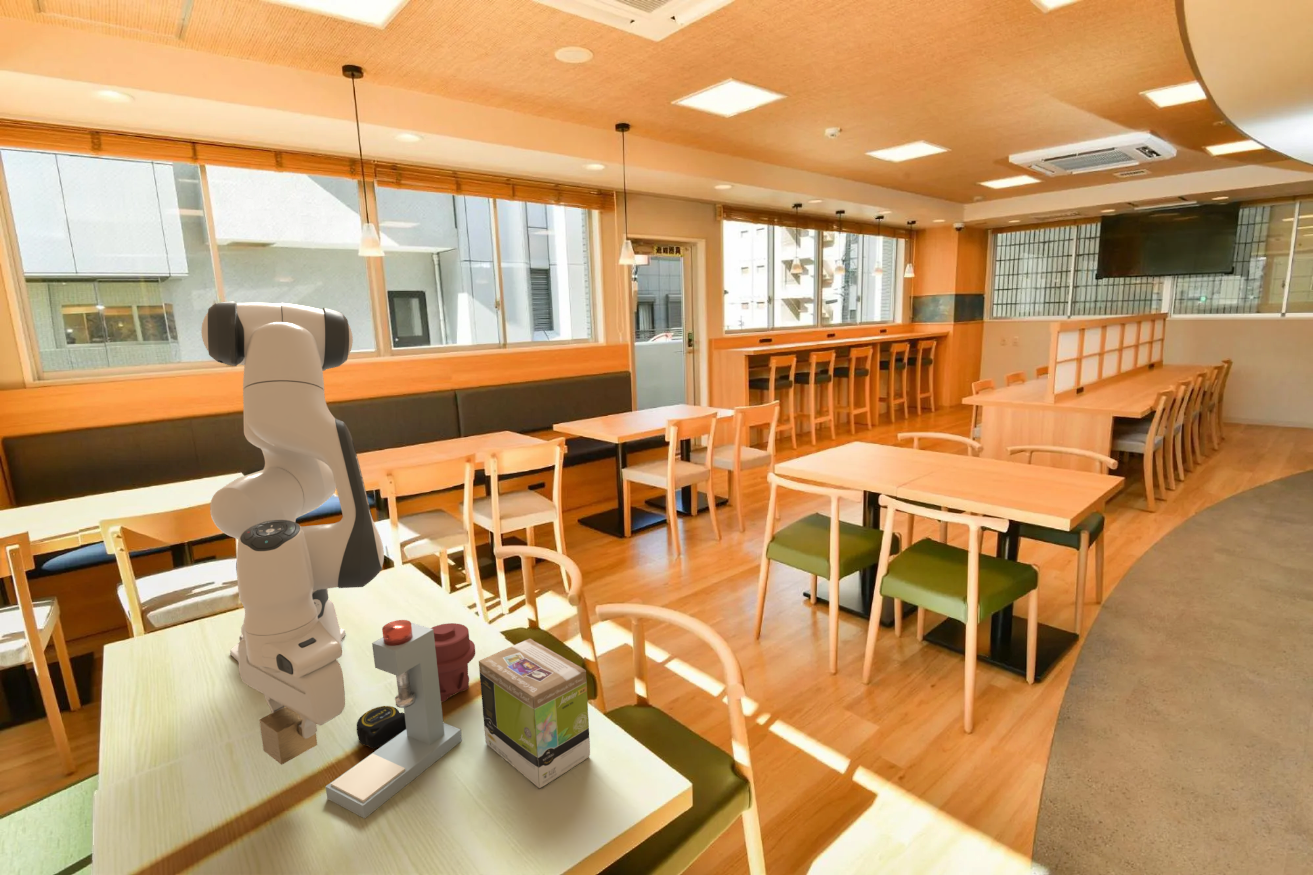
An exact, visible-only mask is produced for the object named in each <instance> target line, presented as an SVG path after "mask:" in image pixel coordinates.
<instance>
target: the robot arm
mask: <svg viewBox="0 0 1313 875" xmlns="http://www.w3.org/2000/svg"><path fill="white" fill-rule="evenodd" d="M200 331H201V332H200V333H201V338H202V342H203V344H204V347H205V349H206V351H207V352H208V355H209V356H210V357H211V358H212V359H213V360H214V361H216V362H218V363H221V364H223V365H228V366H232V367H237V366H238V365H239V366H244V368H243V379H242V380H243V381H242V397H243V398H242V399H243V400H242V401H243V402H242V403H243V408H242V409H243V434H244V436H245V439H246V440H247V442H248V443H250V444H252V445H253V446H255V447H256V448H257V449H258V448H259V449H260V450H261V452H262V454H263V458H264V467H263V469H261V470H259V471H255V472H252V473H249V474H246V475H243V476H240V477H238V478H236V479H234V480H233V481H231V482H229V483H228V484H225V486H223V487H221V488H220V489H219V490H217V491H216V492H215V493H214V494H213V495H212V498H211V500H210V504H209V508H210V510H209V511H210V516H211V520H212V521H213V523H214V525H215V526H216V527H217V529H218V530H219V531H221V532H222V533H223V534H225V535H227V536H229V537H232V538H234V539H236V540H238V541H237V550H236V561H235V562H236V566H235V568H236V569H235V570H236V579H237V580H236V581H237V590H238V596H239V601H240V603H241V604H242V606H243V609H244V618H243V621H242V622H243V623H242V626H241V627H240V629H241V631H240V632H241V635H239V640H238V642H237V643H236V644H235V645H234V646H233V647H232V648H230V649H229V654H230V656H232V658H234V660H236V662H238V672H239V676H240V678H241V681H242V683H244V684H245V685H246V686H248V687H251V689H254V690H255V691H257V692H259V693H261V694H262V695H263V697H264V700H265V702H266V703H267V705H268V707H269V709H270V712H271V714H272V713H274V712H276V711H278V710H280V709H282V708H284V707H287V708H289V709H291V710H292V711H294V712H296V713H298V714H300V718H302V719H303V720H302V723H301V724H299V725H298V730H299V732H298V733H299V735H301V736H302V737H304V738H305V739H307V738H309V737H311V736H313V735H314V734H315V733H316V734H317V730H318V727H317V725H318V726H322V725H324V724H326V723H328V722H329V721H332V720H333V719H335V718H337V717H338V716H340V715H341V714H342V712H343V711H344V710H345V706H346V692H345V683H344V675H343V674H344V673H343V670H342V666H341V664H340V662H339V661H338V660H337V659H339V658H341V657H342V655H343V648H342V645H343V644H342V640H343V639H344V637H346V636H345V635H346V630H345V628H342V627H340V624H339V621H338V620H339V619H338V617H337V616H338V615H337V612H336V608H335V604H334V602H333V601H332V600H330V599H329V589H334V588H338V589H344V588H345V589H346V588H347V589H349V588H354V589H355V588H364V587H365V586H367V584H369V583H370V582H371V581H373V579H375V578H376V577H377V575H379V573H380V572H382V570H383V565H384V561H385V560H384V559H385V549H384V545H383V540H382V538H381V535H380V533H379V531H378V529H377V527H376V524H375V522H374V518H373V515H372V511H371V508H370V507H371V506H370V502H369V499H368V494H367V491H366V490H367V489H366V486H365V482H364V478H363V474H362V471H361V470H362V469H361V466H360V462H359V458H358V454H357V450H356V446H355V445H354V443H355V442H354V440H353V437H352V434H351V432H350V430H349V428H348V426H347V424H346V423H345V421H342V420H341V419H338V418H336V417H335V416H334V415H333V414H332V413H331V411H330V410H329V406H328V405H327V401H326V396H325V382H324V371H326V370H328V369H334V368H338V367H340V366H342V365H343V364H344V363H346V362H347V361H348V359H349V355H350V353H351V350H352V348H353V343H354V340H353V333H352V332H353V331H352V329H351V325H349V320H348V318H347V317H346V316H345V314H344V313H342V312H340V311H338V310H334V309H331V308H328V307H327V308H326V307H322V309H321V308H317V307H312V306H307V305H301V304H295V303H287V302H286V303H285V302H281V303H273V302H272V303H271V302H237V301H235V300H233V301H232V300H231V301H220V302H215V303H213V304H212V305H211V306H210V307H209V308H207V312H206V314H205V316H204V318H203V320H202V323H201V330H200ZM335 492H337V497H338V501H339V505H340V509H341V513H342V518H341V519H340V520H339V521H337V522H335V523H327V524H326V523H325V524H324V523H323V524H317V525H306V526H305V525H304V526H301V525H300V524H299V523H297V522H296V520H297V518H299V517H302V516H304V515H306V514H308V513H311V512H313V511H316V510H317V509H318V508H320V507H321V506H322V505H323V504H325V503H327V501H328V500H329V499H330V498H332V497H333V495H334V494H335Z"/></svg>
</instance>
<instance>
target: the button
mask: <svg viewBox="0 0 1313 875" xmlns="http://www.w3.org/2000/svg"><path fill="white" fill-rule="evenodd" d="M411 623H412V622H411V621H410V620H407V619H396V620H394V621H391V622H388V623H386V624H385V625H384V626H382V627H381V628H382V629H381V630H382V637H383V640H384V644H386V645H389V646H396V645H401V644H404V643H406V642H408V641H410V640H411V639H412V637H413V635H412V626H411ZM395 678H396V686H397V687H396V688H397V695H395V698H394V700H395V706H396V708H400V709H404V708H406V707H409V706H411V705H413V704H414V703H415V701H416V699H415V693H414V692H413V691H411V687H410V678H409V670H408V671H406V672H405V673H403V674H401V675H400V676H396V675H395Z"/></svg>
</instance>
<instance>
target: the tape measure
mask: <svg viewBox="0 0 1313 875" xmlns="http://www.w3.org/2000/svg"><path fill="white" fill-rule="evenodd" d="M404 730H406V722H405V714H404V711H403V712H400V711H399V709H397V707H394V706H391V705H382V706H377V707H374V708H371V709H370V710H368V711H366V712H364V714H362V715H361V716H360V717H359V719H358V720H357V721H356V735H357V738H358V741H359V743H360V744H362V745H364V746H367V747H368V748H371V749H376V748H378V747H379V748H380V747H382V746H383V745H384V744H386V743H387V742H389V741H390V740H392V739H393V738H394V737H396V736H397V735H399V734H400V733H401V732H403V731H404Z"/></svg>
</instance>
